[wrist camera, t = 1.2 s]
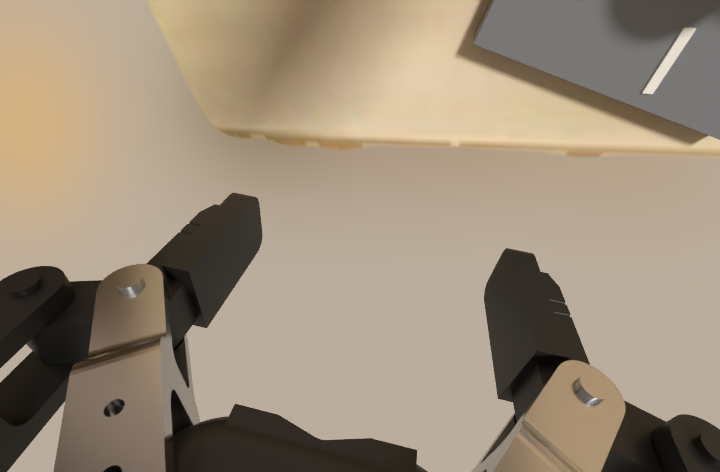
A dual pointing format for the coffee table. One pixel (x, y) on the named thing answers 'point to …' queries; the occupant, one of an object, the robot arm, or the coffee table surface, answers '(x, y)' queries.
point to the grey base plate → (620, 50)
